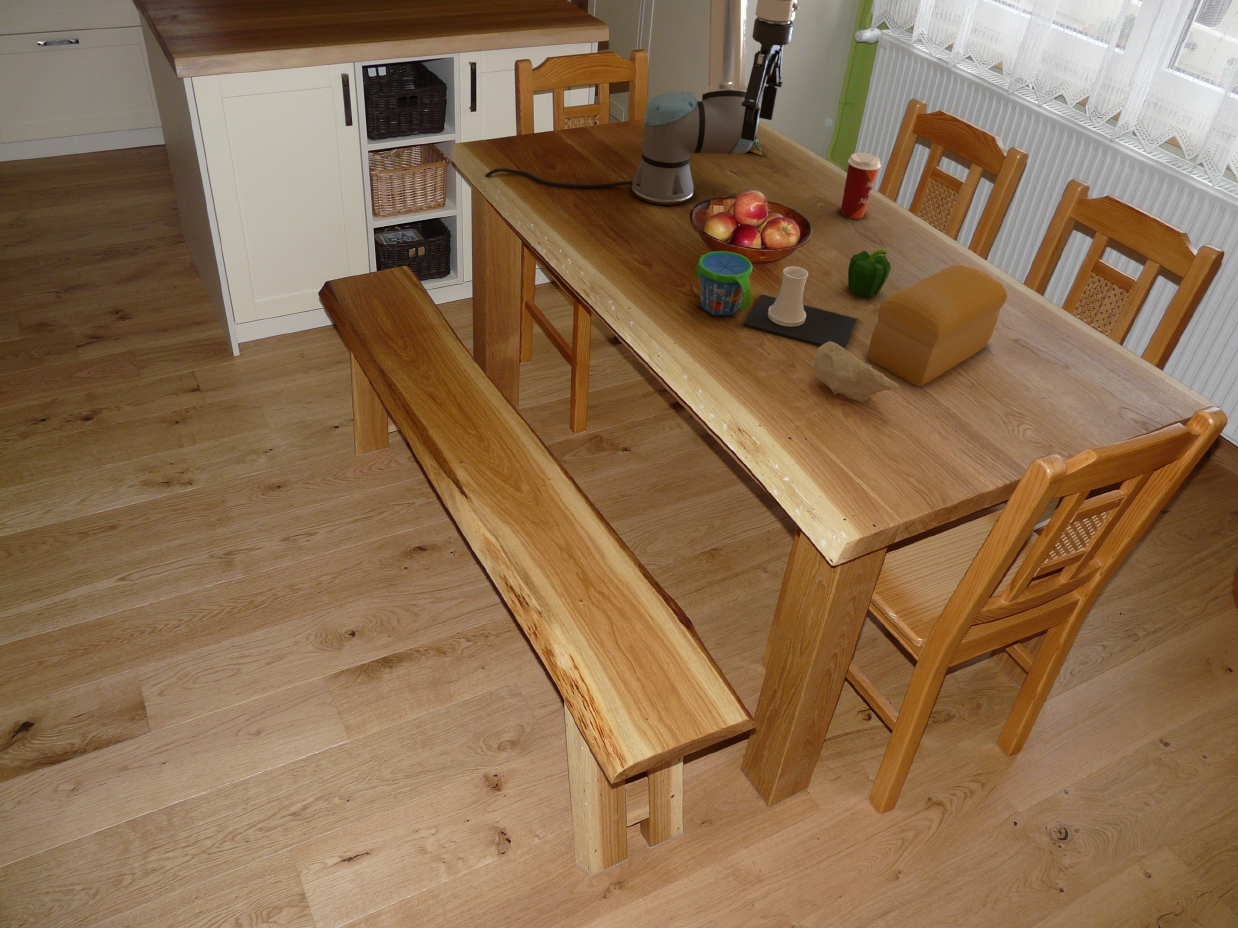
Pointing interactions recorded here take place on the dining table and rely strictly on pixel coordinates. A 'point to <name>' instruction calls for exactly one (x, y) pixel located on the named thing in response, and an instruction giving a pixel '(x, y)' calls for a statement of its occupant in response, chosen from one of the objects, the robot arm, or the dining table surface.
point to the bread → (936, 323)
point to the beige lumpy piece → (849, 373)
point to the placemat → (813, 330)
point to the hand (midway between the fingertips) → (756, 129)
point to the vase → (790, 298)
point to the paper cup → (859, 184)
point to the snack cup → (724, 282)
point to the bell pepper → (868, 273)
